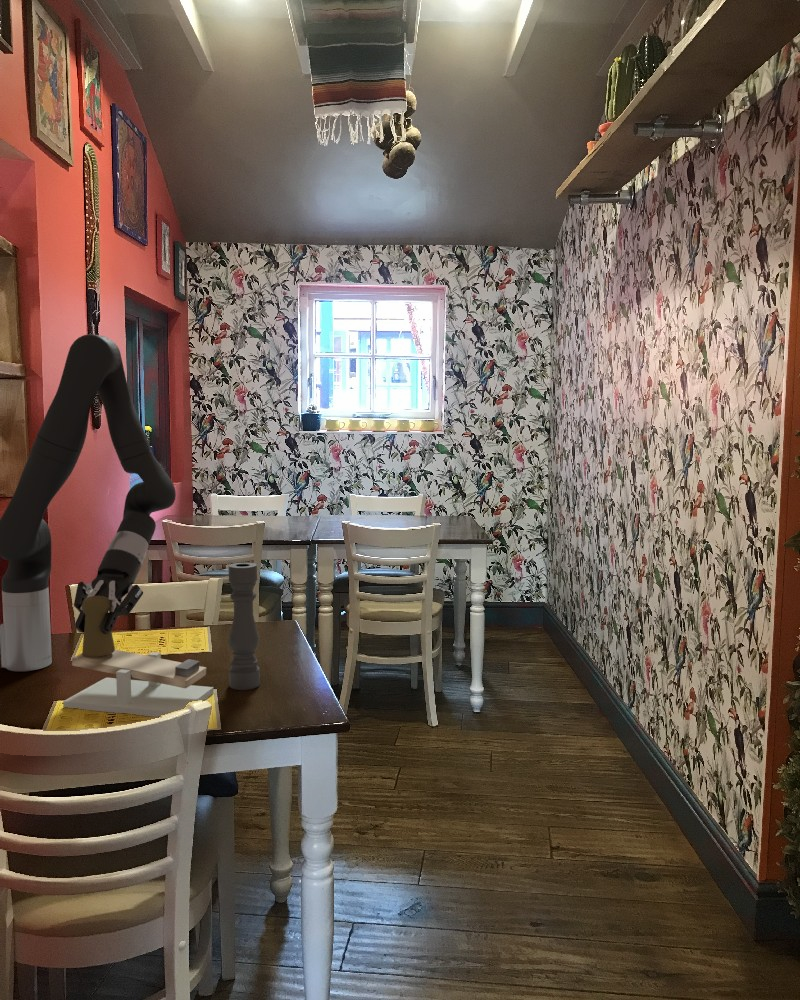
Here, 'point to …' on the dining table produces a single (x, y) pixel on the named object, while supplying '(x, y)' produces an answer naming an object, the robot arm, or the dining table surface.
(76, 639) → the dining table surface
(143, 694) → the beam stand
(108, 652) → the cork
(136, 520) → the robot arm
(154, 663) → the beam
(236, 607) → the candle holder
